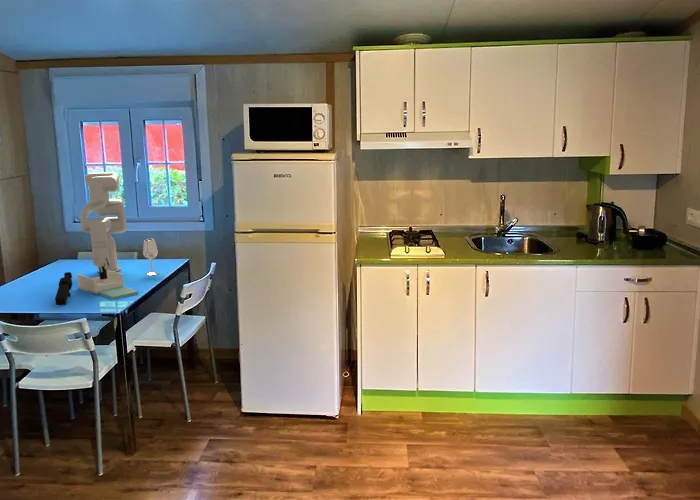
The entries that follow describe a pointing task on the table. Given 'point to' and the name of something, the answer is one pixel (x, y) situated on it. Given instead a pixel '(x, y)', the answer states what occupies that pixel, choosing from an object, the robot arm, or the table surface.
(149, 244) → the wineglass
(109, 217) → the robot arm
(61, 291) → the toy gun
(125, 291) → the lid
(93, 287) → the box
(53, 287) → the table surface
